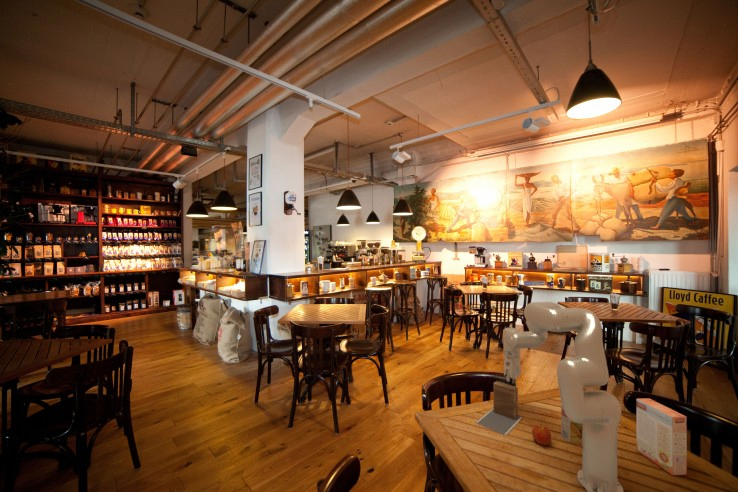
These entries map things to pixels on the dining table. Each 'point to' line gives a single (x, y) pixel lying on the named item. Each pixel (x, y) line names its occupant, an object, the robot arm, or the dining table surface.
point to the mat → (498, 422)
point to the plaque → (506, 400)
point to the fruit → (541, 434)
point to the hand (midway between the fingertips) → (511, 390)
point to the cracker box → (662, 435)
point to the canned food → (570, 429)
